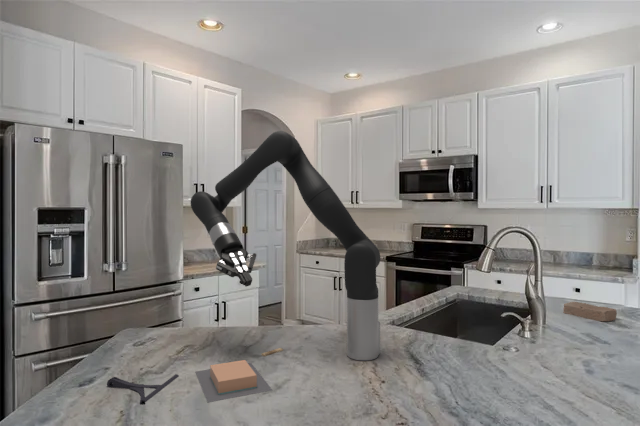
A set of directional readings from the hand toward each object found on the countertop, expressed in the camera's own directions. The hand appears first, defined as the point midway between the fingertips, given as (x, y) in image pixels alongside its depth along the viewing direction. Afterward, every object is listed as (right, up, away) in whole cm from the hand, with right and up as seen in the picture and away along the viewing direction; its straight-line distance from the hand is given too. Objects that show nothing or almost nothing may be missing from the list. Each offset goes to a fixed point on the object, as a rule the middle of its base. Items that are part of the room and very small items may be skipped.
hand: (248, 284), depth 119 cm
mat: (-2, -22, -14) cm, 26 cm away
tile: (-4, -20, -10) cm, 23 cm away
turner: (+3, -22, +4) cm, 22 cm away
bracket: (-24, -23, -17) cm, 38 cm away
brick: (+127, -21, +49) cm, 137 cm away
